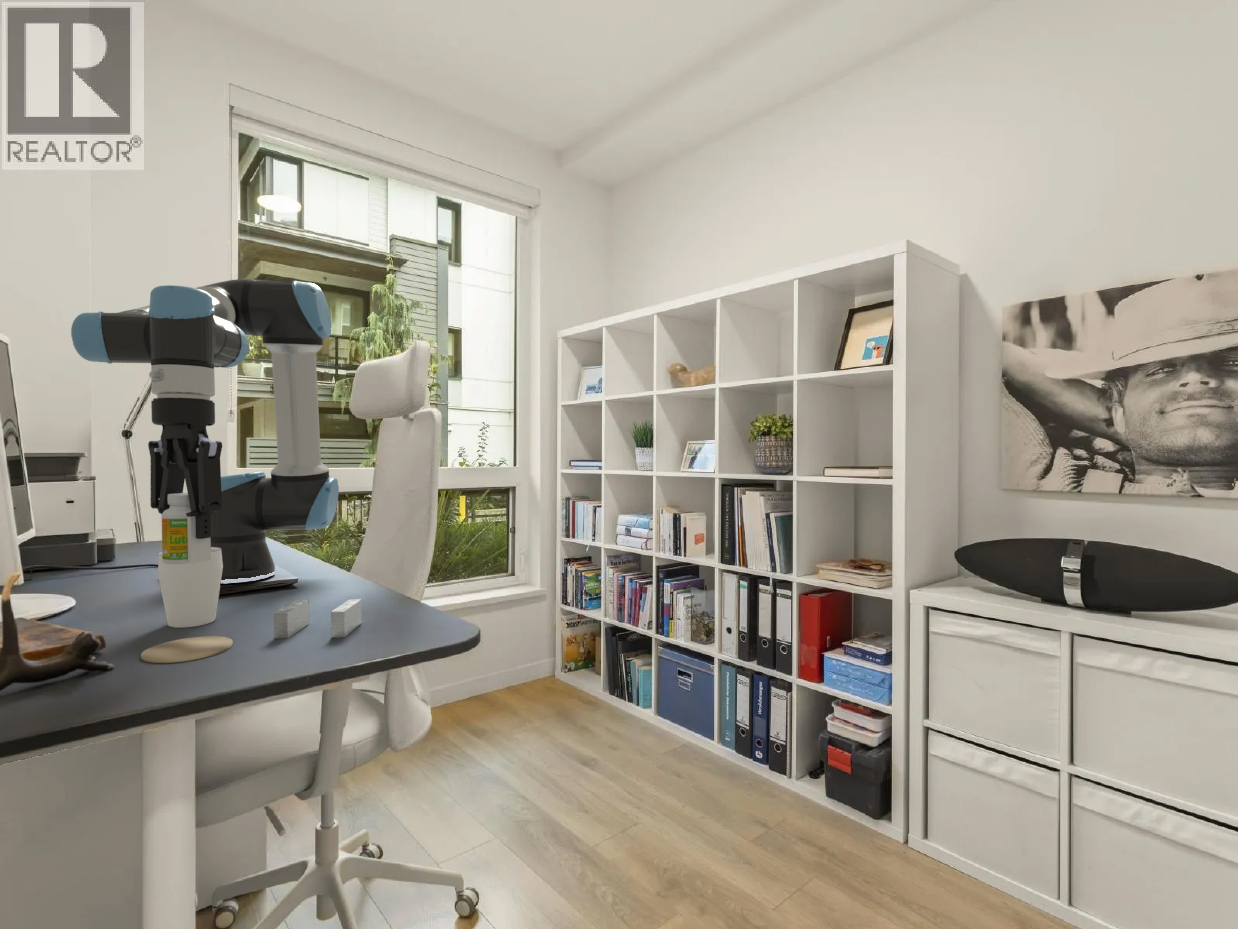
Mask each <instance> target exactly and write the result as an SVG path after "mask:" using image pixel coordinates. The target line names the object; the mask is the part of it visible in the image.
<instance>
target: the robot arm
mask: <svg viewBox="0 0 1238 929" xmlns="http://www.w3.org/2000/svg"><path fill="white" fill-rule="evenodd" d="M149 298H150V300H149V304H148V305H145V306H142V307H138V308H133V309H128V310H123V311H118V312H104V311H98V312H83V313H80V314H78V315H77V316H76V317H75V319H74V320H73V321H72V324H71V327H70V328H71V329H70V330H71V331H70V335H71V336H70V337H71V339H72V345H73V347H74V349H75V352H76V353H77V354H78V355H79V356H80V357H81V358H82V359H84V360H86V361H87V362H91V363H92V362H93V363H107V364H109V365H110V364H118V363H119V364H150V366H151V368H150V369H151V370H150V372H149V373H148V375H149V378H151V380H150V382H151V393H152V394H153V395H155V396H156V398H155V397H154V398H152V400H151V404H150V405H151V406H150V408H151V423H152V424H153V425H155V426H156V425H157V426H162V431H161V435H160V439H159V440H149V442H148V444H147V447H148V451H149V452H148V453H149V456H150V507H151V508H152V509H154V510H155V509H157V511H158V513H159V514H161V516H162V513H163V512H164V511H165V510H167V509H169V508H170V505H169V504H168V494H175V493H184V487H186V489H187V490H186V491H187V492H186V493H188V497H189V502H190V508H191V512H188V513H186V515H187V531H188V563H196V562H202V561H209V560H211V547H218V548H221V551H222V562H223V570H222V577H221V580H225V579H238V578H251V577H256V576H260V575H267V574H269V573H272V572H274V571H275V572H276V564H275V561H274V560H273V557H272V556H273V555H271V551H270V548H269V547H268V544H267V535H266V531H291V530H292V531H293V530H294V531H295V530H296V531H297V530H300V531H301V530H306V531H310V530H322V529H325V528H327V527H329V526H330V524H331V523H332V522H333V520H334V517H335V515H336V513H337V512H336V511H337V506H338V500H339V491H340V490H339V482H338V479H337V478H336V477H333V476H330V470H329V467H328V466H326V464H324V463H323V462H322V456H321V435H320V434H321V433H320V414H319V410H320V409H319V396H318V395H319V393H318V371H317V353H318V352H319V351H320V350H321V349H322V348H323V347H324V342H323V340H325V339H328V338H330V336H331V334H332V320H331V319H332V318H331V312H330V308H329V304H328V301H327V298H326V296H325V294H324V292H323V290H322V289H321V287H320V286H318V285H317V284H315V283H314V282H313V283H312V282H309V281H308V282H306V281H298V280H276V279H275V280H274V279H272V280H270V279H269V280H268V279H249V278H239V279H238V278H237V279H229V280H224V281H219V282H215V283H211V284H206V285H202V286H197V287H191V286H190V287H189V286H183V285H169V284H168V285H159V286H155V287H154V288H153V289H151V291H150V296H149ZM248 336H254V337H255V336H256V337H262V346H263V347H264V348H266V349H267V350H268V351H269V352H270V354H271V365H272V380H273V385H272V386H273V397H274V400H273V401H274V414H275V416H274V417H275V430H276V431H275V432H276V433H275V434H276V446H277V447H276V448H277V465H275V466H274V467H273V468H272V469H271V471H270V476H271V477H266V473H265V472H264V471H254V472H249V473H238V474H232V475H225V476H222V475H221V474H222V473H221V470H222V468H221V455H222V449H223V443H222V441H221V440H211V439H210V438H209V434H208V431H207V430H208V429H207V427H211V426H213V425H214V424H215V423H216V407H215V406H216V404H215V402H214V400H211V398H213V397H214V396H215V395H216V387H215V386H216V382H215V380H216V378H215V368H221V369H222V368H223V369H224V368H234V367H236V366H238V365H240V364H241V363H243V361H244V360H245V359H246V357H247V355H248V354H249V351H250V350H249V347H250V345H249V340H248Z"/></svg>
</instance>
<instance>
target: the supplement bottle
mask: <svg viewBox="0 0 1238 929" xmlns="http://www.w3.org/2000/svg"><path fill="white" fill-rule="evenodd" d="M168 504H169V505H170V508H169V509H167V510H165V511H164V512H163V513H162V515H161V549H162V550H161V552H162V561H163V562H164V563H166V564H188V531H187V515H186V513H188V512H191V508H190V502H189V497H188V492H183V493H175V494H168Z"/></svg>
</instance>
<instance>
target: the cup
mask: <svg viewBox="0 0 1238 929" xmlns="http://www.w3.org/2000/svg"><path fill="white" fill-rule="evenodd" d="M222 570H223V562H222V551H221V548H218V547H211V560H209V561H202V562H196V563H188V564H166V563H164V562H163V561H162V551H160V552H159V553H158V566H157V576H158V580H159V585H160V590H161V597H162V600H163V606H164V612H165V618H166V623H167V626H168V627H171V628H177V629H182V628H183V629H186V628H194V627H200V626H204V625H207V624H210V623H212V622H214V621H216V619H217V618H216V617H217V611H218V603H219V597H220V591H221V590H220V589H221V585H220V584H221V577H222Z"/></svg>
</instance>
